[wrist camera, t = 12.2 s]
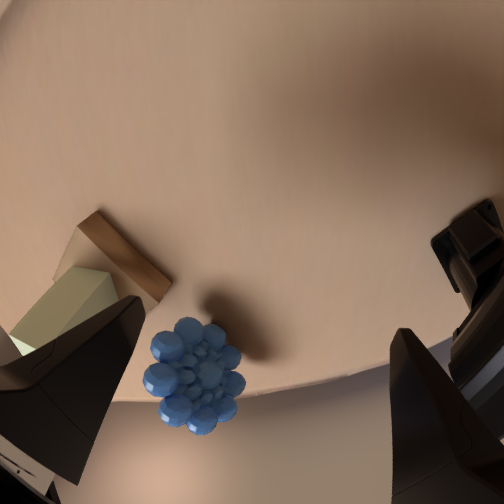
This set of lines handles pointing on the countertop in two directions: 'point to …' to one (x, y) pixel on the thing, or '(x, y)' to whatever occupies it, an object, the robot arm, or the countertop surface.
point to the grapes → (194, 376)
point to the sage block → (64, 307)
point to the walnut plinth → (113, 261)
